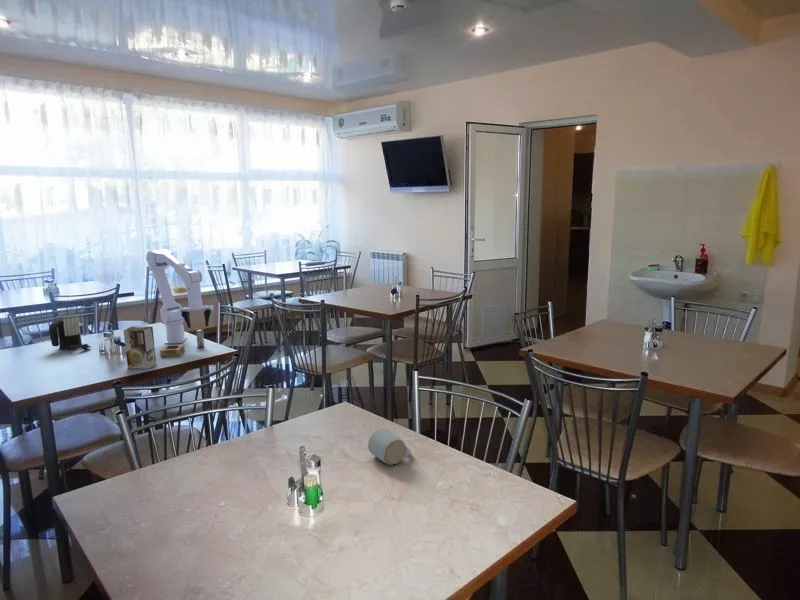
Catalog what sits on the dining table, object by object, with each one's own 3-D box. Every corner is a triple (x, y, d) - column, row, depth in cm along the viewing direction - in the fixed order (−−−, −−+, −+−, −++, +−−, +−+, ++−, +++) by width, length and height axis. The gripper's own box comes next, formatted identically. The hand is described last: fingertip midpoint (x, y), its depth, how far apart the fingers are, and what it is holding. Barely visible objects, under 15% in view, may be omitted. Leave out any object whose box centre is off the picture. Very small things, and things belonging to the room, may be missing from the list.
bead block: (165, 351, 237) (165, 345, 236) (184, 350, 238) (184, 344, 237) (160, 357, 229) (160, 350, 228) (180, 356, 230) (179, 349, 229)
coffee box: (157, 364, 219) (153, 326, 216) (148, 369, 213) (144, 330, 210) (136, 363, 220) (132, 325, 217) (126, 368, 214) (122, 329, 211)
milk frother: (66, 344, 248) (62, 313, 245) (101, 343, 249) (97, 313, 246) (48, 353, 234) (44, 320, 231) (85, 352, 235) (81, 320, 232)
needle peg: (198, 346, 245) (196, 329, 243) (205, 346, 245) (203, 329, 244) (196, 348, 242) (195, 331, 240) (203, 348, 242) (202, 331, 241)
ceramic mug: (385, 470, 135) (385, 442, 134) (367, 458, 141) (367, 431, 140) (417, 458, 141) (418, 431, 140) (398, 447, 148) (399, 421, 146)
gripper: (175, 300, 234) (179, 330, 236) (209, 297, 236) (213, 327, 238) (179, 297, 241) (183, 327, 243) (212, 295, 243) (216, 324, 245)
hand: (198, 327), depth 241 cm, fingers open, 7 cm apart
